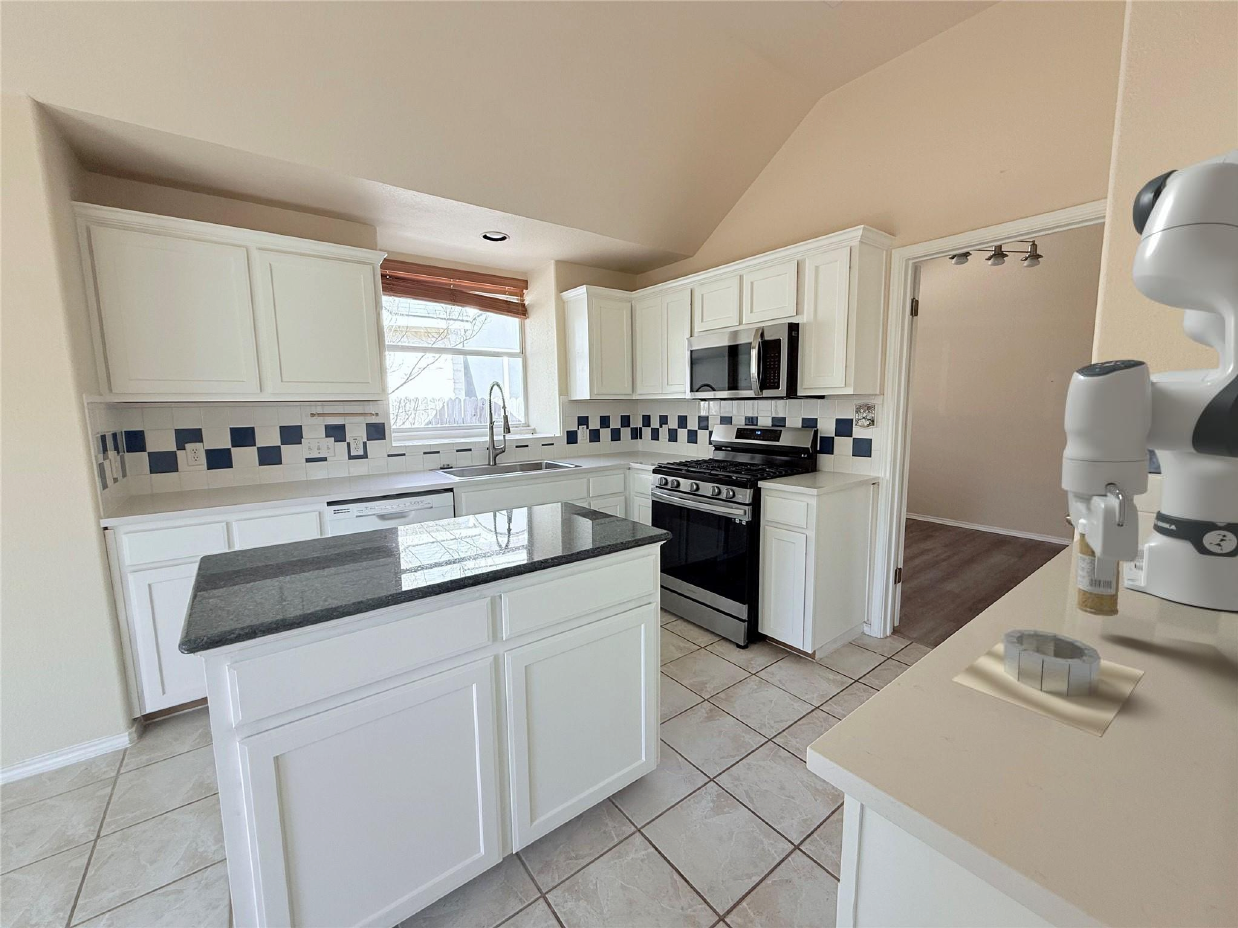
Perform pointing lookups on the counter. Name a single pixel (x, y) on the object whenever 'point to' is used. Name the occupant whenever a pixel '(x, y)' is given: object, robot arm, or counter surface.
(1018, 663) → the steel ring
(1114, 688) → the birch board
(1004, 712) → the counter surface
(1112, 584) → the sprinkles bottle
